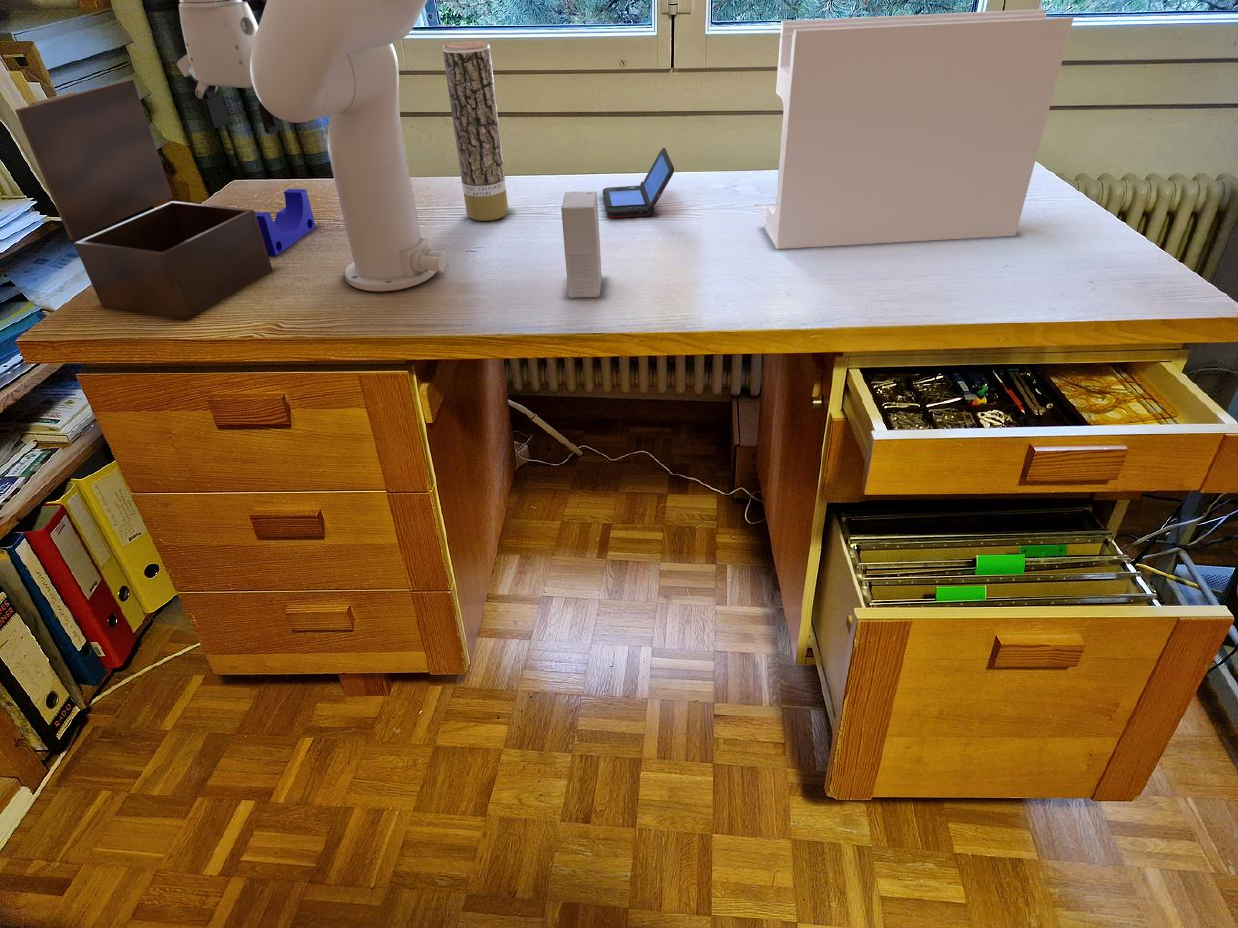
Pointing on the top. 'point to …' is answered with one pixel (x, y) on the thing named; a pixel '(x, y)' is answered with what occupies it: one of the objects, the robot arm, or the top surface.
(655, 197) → the handheld game console
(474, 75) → the paper tube
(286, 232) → the blue notched block
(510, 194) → the top surface
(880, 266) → the top surface
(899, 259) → the top surface
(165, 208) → the keepsake box
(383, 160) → the robot arm
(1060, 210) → the top surface
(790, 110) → the block
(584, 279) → the cosmetic box
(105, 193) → the lid
